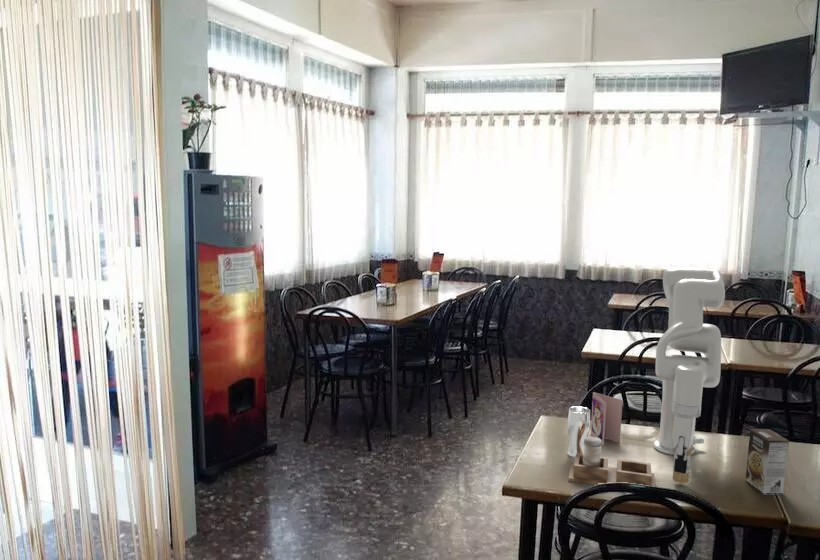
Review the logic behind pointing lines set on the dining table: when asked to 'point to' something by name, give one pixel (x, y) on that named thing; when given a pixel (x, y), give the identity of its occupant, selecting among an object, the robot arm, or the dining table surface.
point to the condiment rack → (597, 471)
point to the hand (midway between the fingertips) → (681, 468)
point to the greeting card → (606, 417)
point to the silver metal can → (578, 429)
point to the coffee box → (767, 460)
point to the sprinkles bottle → (685, 476)
